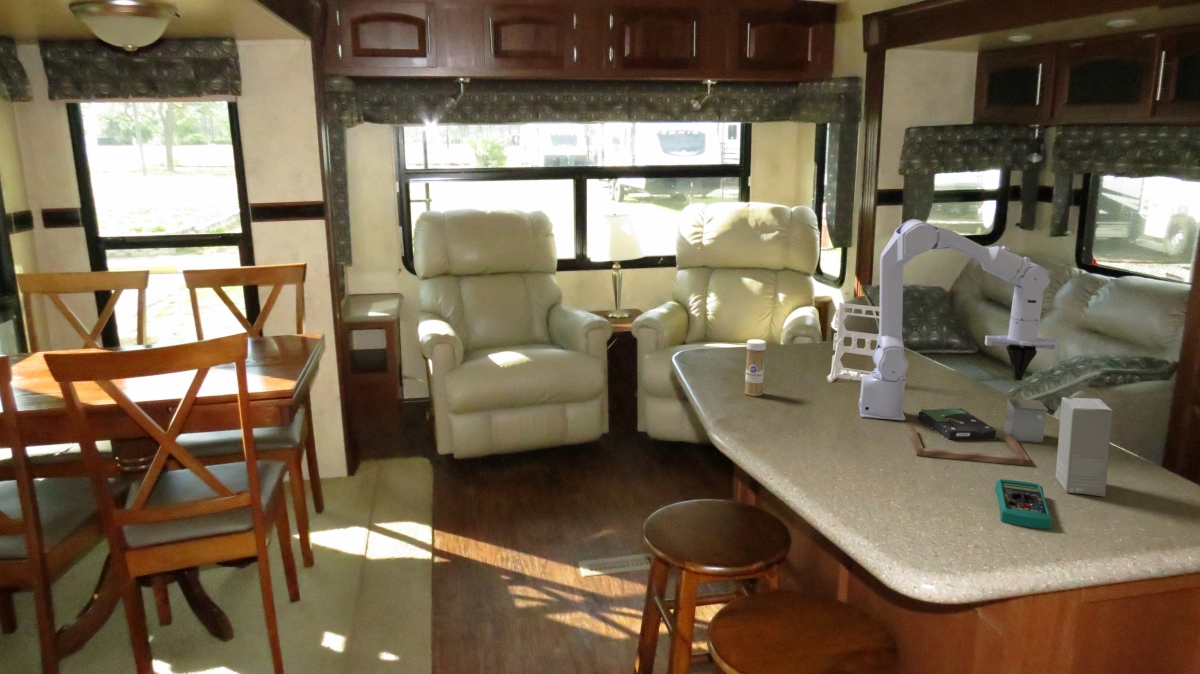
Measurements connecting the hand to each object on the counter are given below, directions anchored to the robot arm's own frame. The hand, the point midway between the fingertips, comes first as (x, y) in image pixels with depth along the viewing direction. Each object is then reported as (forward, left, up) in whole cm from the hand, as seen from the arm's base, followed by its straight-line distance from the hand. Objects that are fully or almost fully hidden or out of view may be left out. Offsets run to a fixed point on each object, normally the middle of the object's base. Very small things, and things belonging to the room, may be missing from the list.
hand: (1017, 379), depth 180 cm
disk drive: (-13, -8, -11) cm, 19 cm away
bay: (-13, -20, -10) cm, 26 cm away
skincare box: (+3, -36, -10) cm, 38 cm away
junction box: (0, -10, -10) cm, 14 cm away
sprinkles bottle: (-57, +6, -10) cm, 58 cm away
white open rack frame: (-31, +27, -10) cm, 42 cm away
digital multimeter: (-9, -49, -11) cm, 51 cm away
